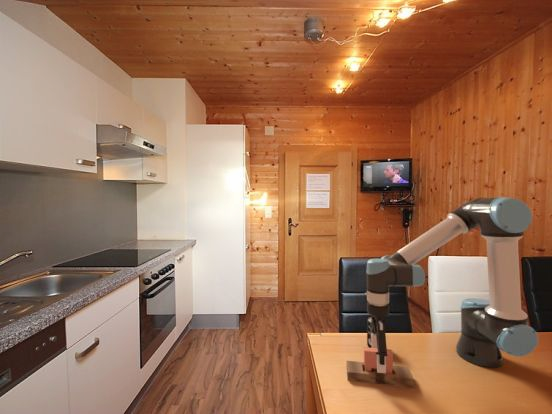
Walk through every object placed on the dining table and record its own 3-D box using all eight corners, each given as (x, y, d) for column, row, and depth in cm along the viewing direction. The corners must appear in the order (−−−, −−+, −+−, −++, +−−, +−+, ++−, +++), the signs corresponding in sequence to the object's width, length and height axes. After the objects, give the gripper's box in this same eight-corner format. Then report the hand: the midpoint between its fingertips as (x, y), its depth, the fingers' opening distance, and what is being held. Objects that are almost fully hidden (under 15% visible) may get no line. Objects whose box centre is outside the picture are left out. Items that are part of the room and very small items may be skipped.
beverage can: (384, 352, 114) (384, 324, 114) (368, 350, 116) (368, 322, 116) (381, 344, 121) (381, 317, 121) (366, 342, 122) (366, 316, 122)
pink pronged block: (391, 376, 99) (391, 349, 98) (393, 381, 96) (392, 353, 96) (363, 373, 100) (363, 347, 100) (364, 378, 98) (364, 350, 98)
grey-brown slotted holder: (408, 374, 99) (408, 366, 99) (414, 387, 93) (413, 379, 92) (346, 368, 104) (346, 360, 104) (347, 380, 97) (347, 371, 97)
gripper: (363, 290, 110) (363, 342, 111) (371, 316, 86) (372, 382, 87) (382, 291, 109) (382, 343, 109) (397, 317, 85) (397, 384, 85)
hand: (378, 360), depth 98 cm, fingers open, 13 cm apart
